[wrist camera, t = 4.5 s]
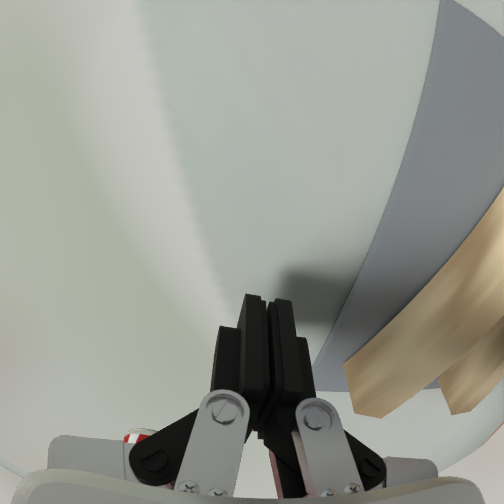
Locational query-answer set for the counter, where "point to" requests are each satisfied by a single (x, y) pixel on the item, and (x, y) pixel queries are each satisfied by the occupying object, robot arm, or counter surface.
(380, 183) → the counter surface
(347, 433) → the robot arm
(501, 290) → the bar
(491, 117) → the mat
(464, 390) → the frame
